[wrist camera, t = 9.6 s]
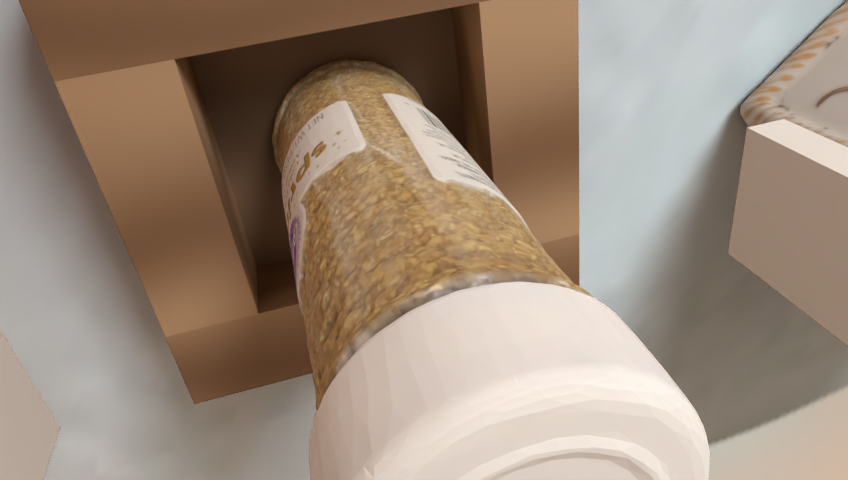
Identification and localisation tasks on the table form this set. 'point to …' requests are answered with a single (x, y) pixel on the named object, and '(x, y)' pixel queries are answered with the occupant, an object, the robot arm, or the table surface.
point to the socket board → (253, 149)
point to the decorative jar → (809, 84)
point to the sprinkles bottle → (451, 311)
